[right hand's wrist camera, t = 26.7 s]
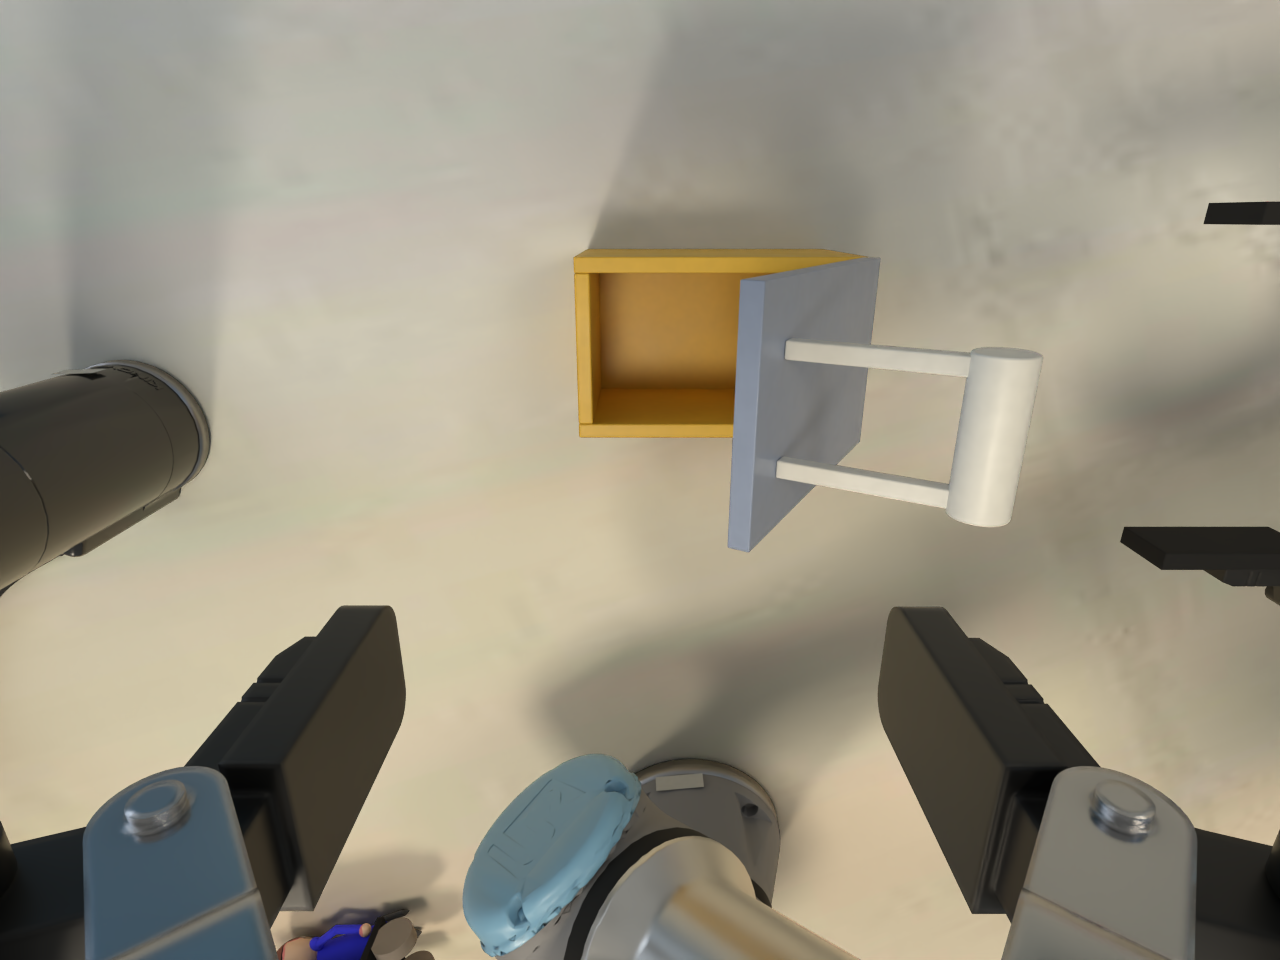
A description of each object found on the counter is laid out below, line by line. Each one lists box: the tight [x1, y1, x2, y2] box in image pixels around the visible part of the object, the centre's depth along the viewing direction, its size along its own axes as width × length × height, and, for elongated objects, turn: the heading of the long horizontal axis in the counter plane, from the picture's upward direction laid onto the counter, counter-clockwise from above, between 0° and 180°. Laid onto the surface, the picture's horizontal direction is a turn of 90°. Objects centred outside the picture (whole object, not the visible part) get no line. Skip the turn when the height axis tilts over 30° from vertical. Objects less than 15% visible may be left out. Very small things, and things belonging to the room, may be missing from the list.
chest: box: [574, 249, 865, 437], centre depth 42 cm, size 15×10×10 cm, turn 90°
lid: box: [728, 257, 1043, 552], centre depth 29 cm, size 16×10×9 cm
